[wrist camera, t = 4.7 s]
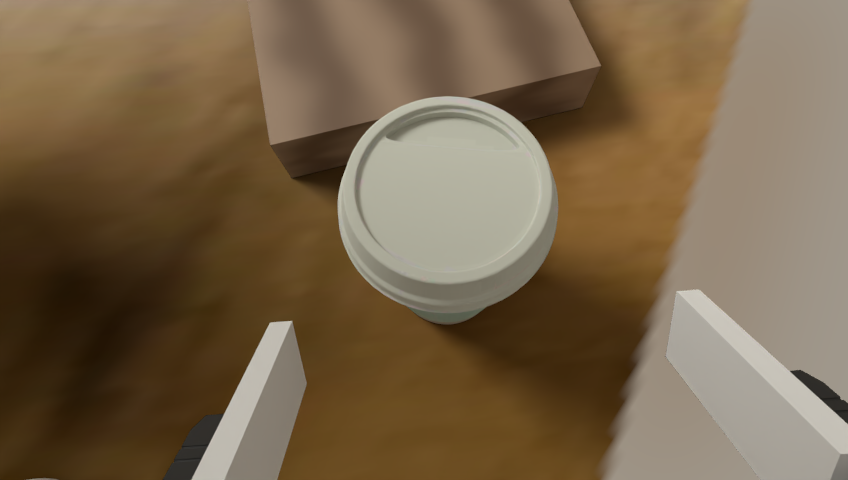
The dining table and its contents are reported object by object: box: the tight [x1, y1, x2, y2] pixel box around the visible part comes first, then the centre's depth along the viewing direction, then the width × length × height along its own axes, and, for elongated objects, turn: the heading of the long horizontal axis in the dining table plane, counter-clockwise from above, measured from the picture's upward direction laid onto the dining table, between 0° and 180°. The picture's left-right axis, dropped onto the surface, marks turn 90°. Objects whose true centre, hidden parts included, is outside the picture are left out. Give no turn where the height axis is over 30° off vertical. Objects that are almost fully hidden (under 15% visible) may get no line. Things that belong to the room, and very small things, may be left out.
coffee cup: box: [338, 96, 558, 324], centre depth 22 cm, size 9×8×12 cm
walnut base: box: [247, 0, 601, 178], centre depth 32 cm, size 20×20×4 cm
